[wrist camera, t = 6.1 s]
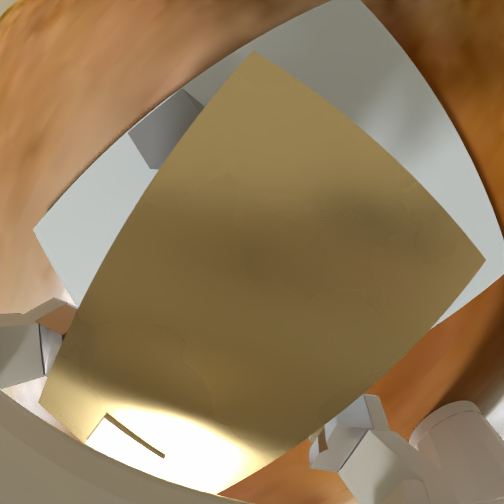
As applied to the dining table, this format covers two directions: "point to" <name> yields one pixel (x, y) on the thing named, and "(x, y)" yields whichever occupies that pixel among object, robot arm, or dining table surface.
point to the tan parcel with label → (254, 288)
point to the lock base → (328, 87)
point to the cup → (463, 450)
